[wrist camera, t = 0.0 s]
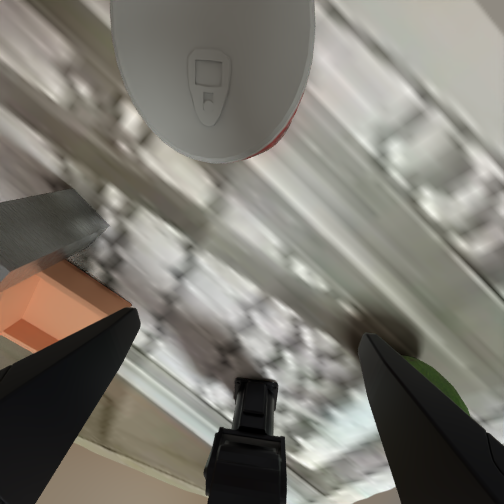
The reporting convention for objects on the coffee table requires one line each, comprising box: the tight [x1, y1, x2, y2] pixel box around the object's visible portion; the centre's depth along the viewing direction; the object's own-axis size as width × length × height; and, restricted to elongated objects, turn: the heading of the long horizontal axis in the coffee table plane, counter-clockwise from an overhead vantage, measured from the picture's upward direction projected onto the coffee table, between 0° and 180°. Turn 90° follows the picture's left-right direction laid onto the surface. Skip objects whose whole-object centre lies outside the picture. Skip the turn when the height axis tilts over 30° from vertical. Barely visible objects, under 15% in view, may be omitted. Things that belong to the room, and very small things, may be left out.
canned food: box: [110, 0, 315, 163], centre depth 13 cm, size 8×8×11 cm
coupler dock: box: [0, 259, 132, 353], centre depth 29 cm, size 12×16×5 cm
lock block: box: [0, 188, 110, 292], centre depth 20 cm, size 5×5×10 cm
